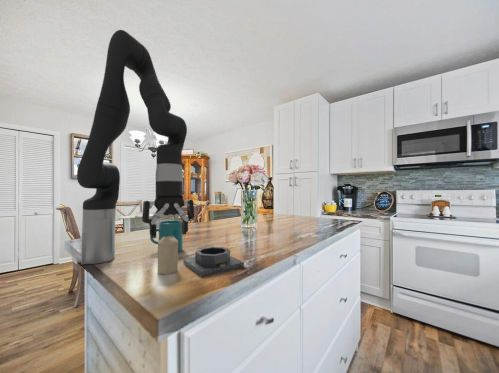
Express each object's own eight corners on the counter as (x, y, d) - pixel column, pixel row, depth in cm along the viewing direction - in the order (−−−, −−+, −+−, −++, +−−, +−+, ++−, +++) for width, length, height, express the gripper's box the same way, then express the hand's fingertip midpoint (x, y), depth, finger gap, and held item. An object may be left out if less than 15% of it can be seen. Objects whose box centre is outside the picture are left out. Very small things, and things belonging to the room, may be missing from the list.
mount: (201, 277, 59) (201, 260, 59) (183, 263, 71) (183, 249, 71) (243, 267, 67) (243, 252, 68) (221, 256, 79) (221, 243, 79)
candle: (171, 275, 61) (171, 238, 61) (153, 273, 62) (154, 238, 62) (181, 268, 66) (181, 235, 66) (164, 267, 67) (165, 234, 67)
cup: (150, 249, 88) (150, 221, 88) (181, 246, 92) (181, 220, 93) (149, 255, 79) (149, 224, 80) (183, 252, 84) (184, 222, 84)
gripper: (188, 181, 72) (188, 231, 71) (140, 180, 63) (140, 237, 63) (197, 180, 66) (197, 234, 65) (145, 179, 57) (145, 241, 57)
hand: (169, 235), depth 64 cm, fingers open, 8 cm apart
